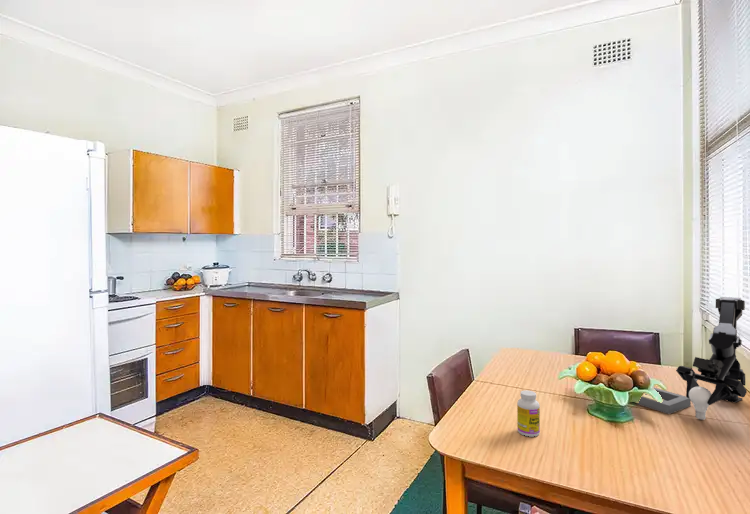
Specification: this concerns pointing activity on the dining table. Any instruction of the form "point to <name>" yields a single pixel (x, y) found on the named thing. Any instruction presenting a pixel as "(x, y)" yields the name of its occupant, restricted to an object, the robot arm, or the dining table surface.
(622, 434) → the dining table surface
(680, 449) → the dining table surface
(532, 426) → the supplement bottle
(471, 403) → the dining table surface
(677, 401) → the socket block
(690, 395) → the lightbulb
